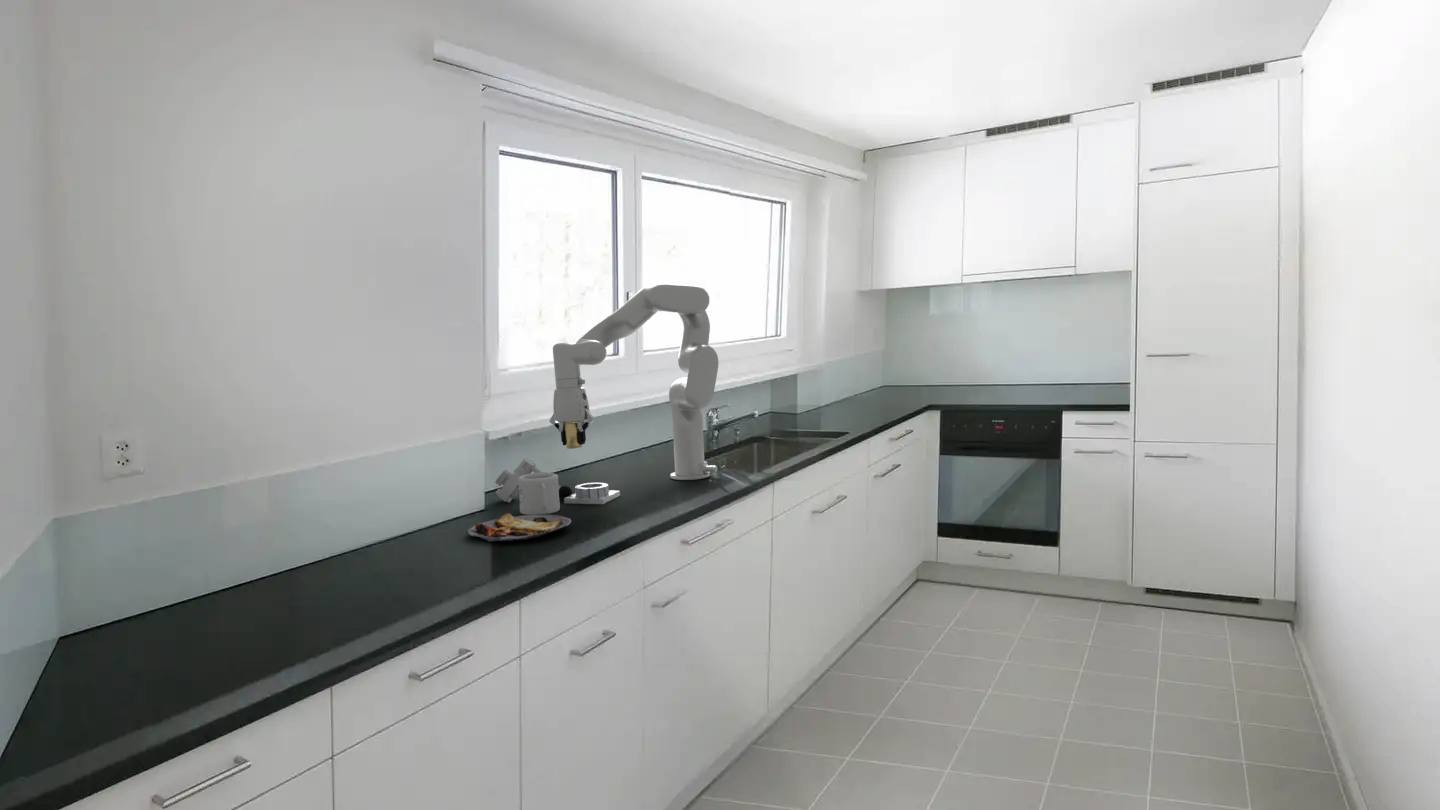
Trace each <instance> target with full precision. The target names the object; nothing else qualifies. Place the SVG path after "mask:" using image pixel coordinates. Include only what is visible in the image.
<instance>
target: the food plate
mask: <svg viewBox="0 0 1440 810" xmlns="http://www.w3.org/2000/svg"><path fill="white" fill-rule="evenodd" d="M571 522H572V520H571V518H569V517H565V516H562V515H561V514H560V515H559V514H545V515H518V516H516V515H515V516H514V515H512V513H510V512H506V513H504V514H503V515H501V516H500V517H499V518H495V519H491V520H487V521H483V522H479V523H477V524H473V525H472V526H470V527H469V528H468V529H466V531H465V533H466V534H467V535H468V536H469V537H479V538H481V539H484V540H486V541H488V542H489V543H490V542H497V541H498V542H505V541H506V542H507V541H509V542H510V541H522V540H529V539H535V538H539V537H542V536H544V535H548V534H551V533H552V532H554V531H558V530H561V529H562V528H564V527H566V526H569V525H570V524H571Z"/></svg>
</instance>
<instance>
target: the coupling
mask: <svg viewBox="0 0 1440 810" xmlns="http://www.w3.org/2000/svg"><path fill="white" fill-rule="evenodd" d="M564 425H565V436H566V445H565V446H566V447H565V448H566V449H580V448H582V447H583V444H582V445H579V442H578V432H579V428H578V425H577V422H566V423H564Z"/></svg>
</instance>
